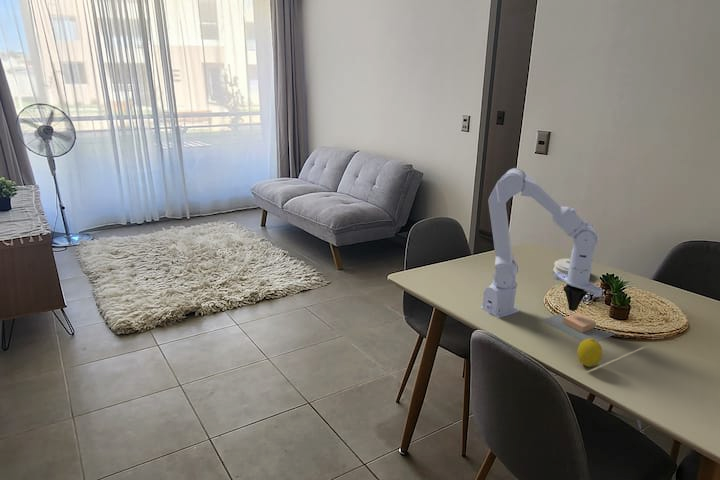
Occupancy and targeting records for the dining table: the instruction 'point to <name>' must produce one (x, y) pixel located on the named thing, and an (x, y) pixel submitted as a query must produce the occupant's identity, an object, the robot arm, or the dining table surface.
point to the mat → (592, 333)
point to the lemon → (589, 352)
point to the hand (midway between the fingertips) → (572, 309)
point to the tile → (579, 322)
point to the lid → (562, 266)
